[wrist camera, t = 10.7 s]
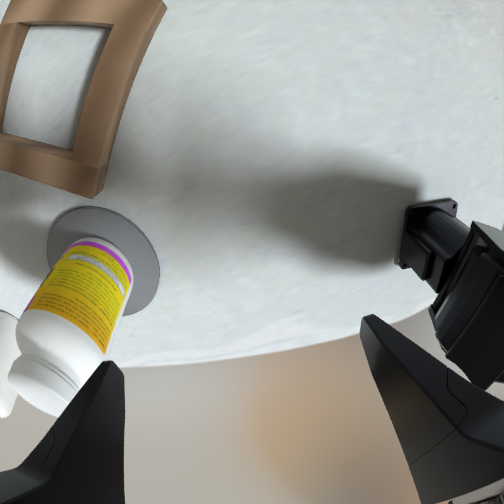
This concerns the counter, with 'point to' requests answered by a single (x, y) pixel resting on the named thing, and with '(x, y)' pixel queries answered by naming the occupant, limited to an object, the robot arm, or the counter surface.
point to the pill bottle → (7, 362)
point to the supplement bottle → (70, 324)
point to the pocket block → (99, 94)
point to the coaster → (118, 234)
